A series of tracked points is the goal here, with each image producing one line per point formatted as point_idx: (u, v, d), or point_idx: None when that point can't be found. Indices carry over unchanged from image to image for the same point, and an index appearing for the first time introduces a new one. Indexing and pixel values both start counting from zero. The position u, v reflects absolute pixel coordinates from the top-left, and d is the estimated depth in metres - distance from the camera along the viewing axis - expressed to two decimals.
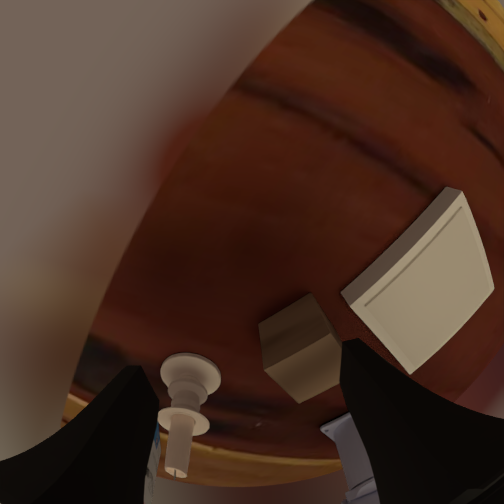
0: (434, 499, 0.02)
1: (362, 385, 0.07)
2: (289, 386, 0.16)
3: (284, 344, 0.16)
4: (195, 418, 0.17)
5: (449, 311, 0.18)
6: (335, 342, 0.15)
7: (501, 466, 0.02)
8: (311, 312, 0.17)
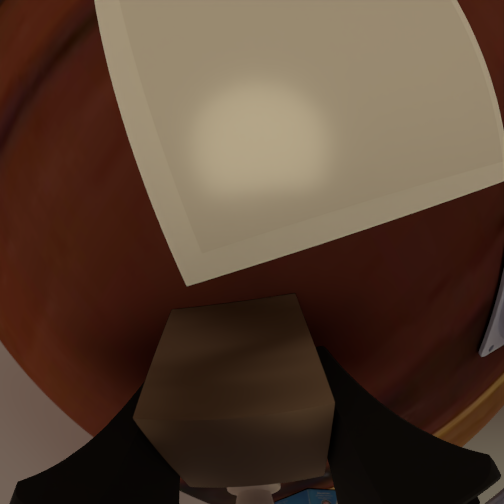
0: None
1: None
2: (259, 481, 0.06)
3: None
4: None
5: (397, 6, 0.04)
6: (167, 421, 0.05)
7: None
8: None
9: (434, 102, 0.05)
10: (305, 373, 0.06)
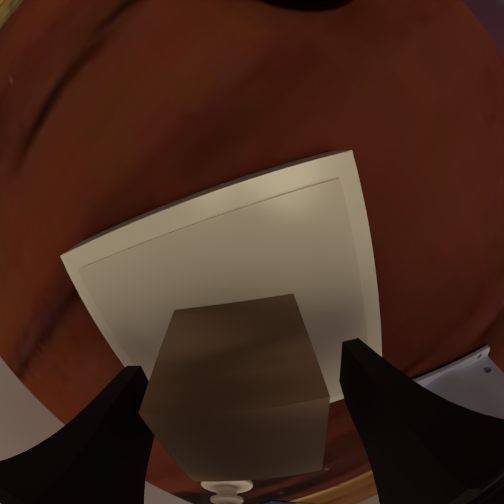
0: (434, 499, 0.02)
1: (362, 385, 0.07)
2: (259, 475, 0.07)
3: None
4: None
5: None
6: (172, 415, 0.05)
7: (501, 466, 0.02)
8: None
9: None
10: (302, 369, 0.06)
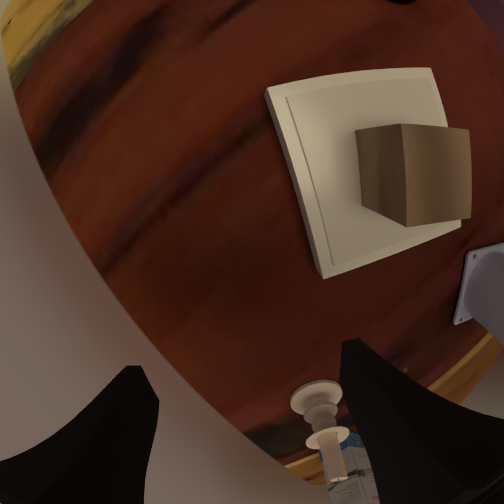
0: (434, 499, 0.02)
1: (362, 385, 0.07)
2: (444, 213, 0.10)
3: (392, 186, 0.11)
4: (330, 431, 0.19)
5: None
6: (416, 126, 0.09)
7: (501, 466, 0.02)
8: (373, 138, 0.12)
9: None
10: None
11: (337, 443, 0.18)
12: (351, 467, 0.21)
